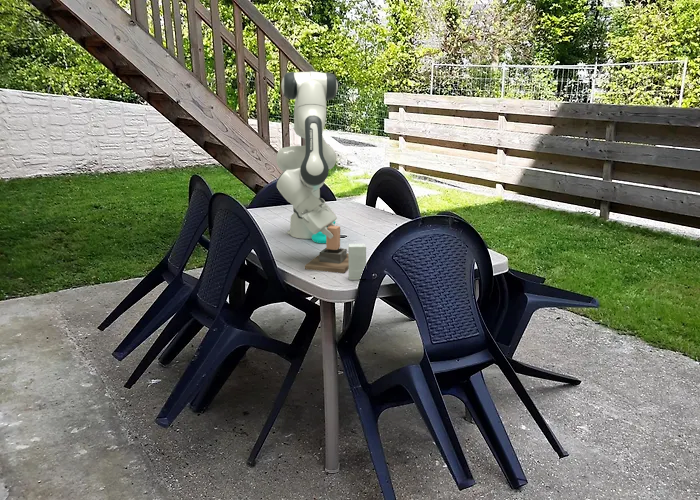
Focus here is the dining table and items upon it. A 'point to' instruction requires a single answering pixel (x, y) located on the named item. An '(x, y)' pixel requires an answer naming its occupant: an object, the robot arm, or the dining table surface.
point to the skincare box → (356, 260)
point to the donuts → (319, 237)
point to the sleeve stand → (330, 261)
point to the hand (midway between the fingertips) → (334, 235)
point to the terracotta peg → (333, 238)
